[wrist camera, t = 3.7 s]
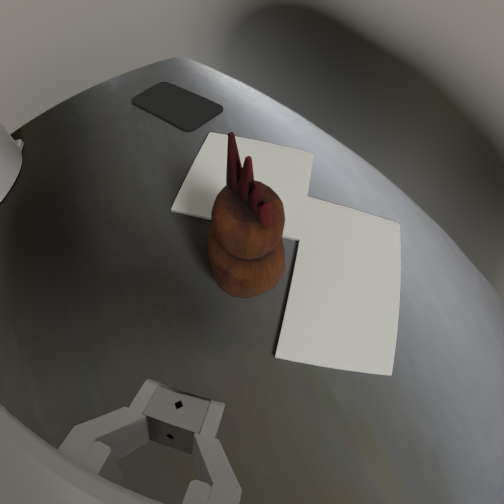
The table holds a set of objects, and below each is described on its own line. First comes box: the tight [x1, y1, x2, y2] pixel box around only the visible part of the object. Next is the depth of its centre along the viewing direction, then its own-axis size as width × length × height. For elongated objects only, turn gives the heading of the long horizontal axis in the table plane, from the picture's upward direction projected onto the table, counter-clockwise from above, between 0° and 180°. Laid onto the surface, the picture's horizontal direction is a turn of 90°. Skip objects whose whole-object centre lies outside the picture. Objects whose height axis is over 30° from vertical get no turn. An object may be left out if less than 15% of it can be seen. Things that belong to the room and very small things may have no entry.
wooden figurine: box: [207, 132, 285, 298], centre depth 19 cm, size 7×6×15 cm
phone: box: [132, 82, 223, 132], centre depth 36 cm, size 7×1×15 cm
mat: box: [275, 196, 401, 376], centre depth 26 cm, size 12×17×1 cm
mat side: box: [171, 132, 314, 241], centre depth 30 cm, size 14×12×1 cm
